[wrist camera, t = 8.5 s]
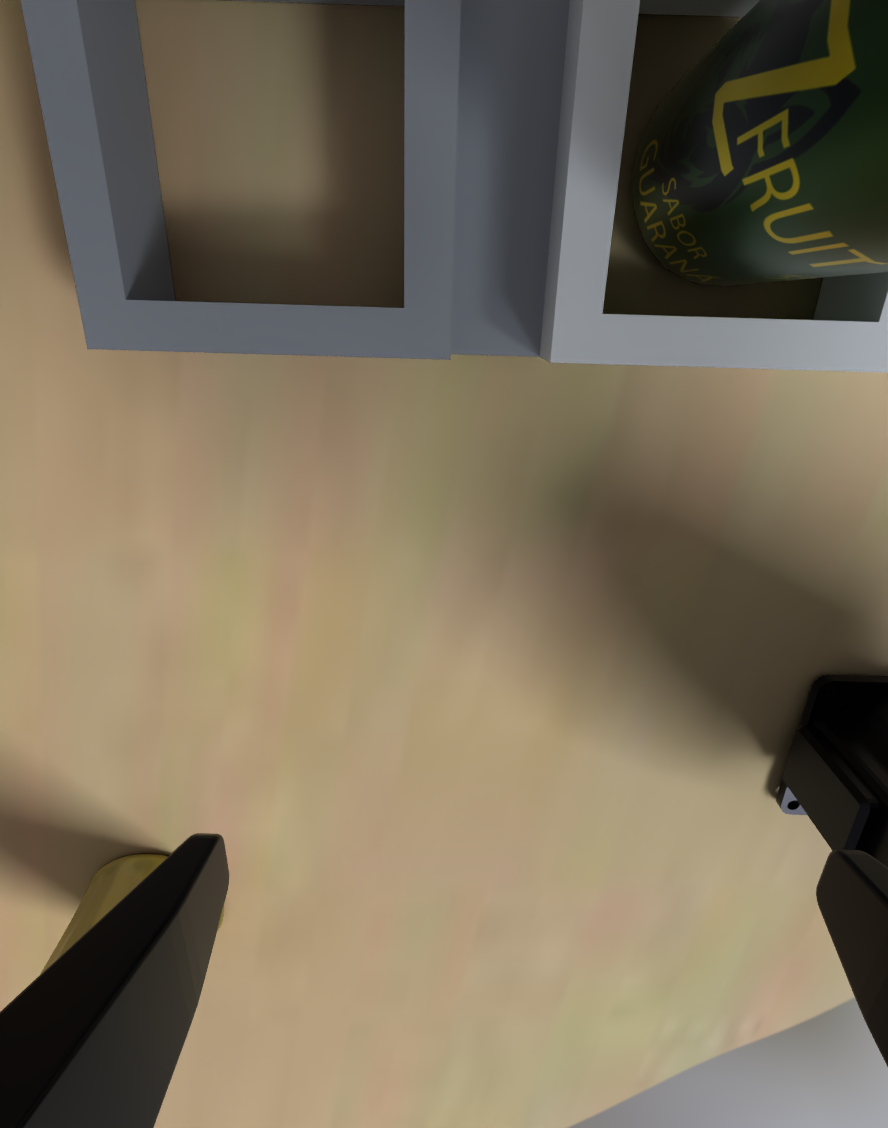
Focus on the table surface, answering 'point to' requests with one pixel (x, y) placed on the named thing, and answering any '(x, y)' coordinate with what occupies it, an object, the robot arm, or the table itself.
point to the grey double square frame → (424, 201)
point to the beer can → (774, 150)
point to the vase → (107, 896)
